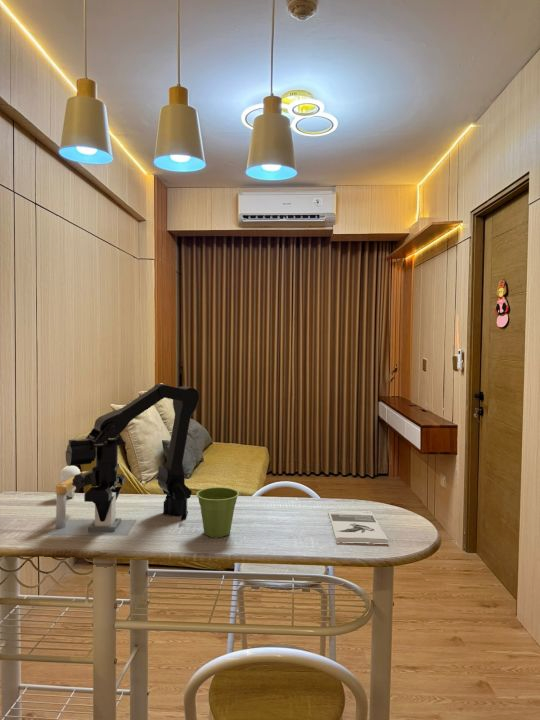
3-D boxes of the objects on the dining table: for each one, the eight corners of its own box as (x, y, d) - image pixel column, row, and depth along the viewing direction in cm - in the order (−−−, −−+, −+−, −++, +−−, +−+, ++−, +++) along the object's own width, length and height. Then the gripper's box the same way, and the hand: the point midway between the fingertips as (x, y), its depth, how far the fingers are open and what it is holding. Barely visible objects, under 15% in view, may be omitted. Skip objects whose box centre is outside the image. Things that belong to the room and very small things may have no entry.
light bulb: (75, 501, 156) (76, 468, 156) (55, 500, 156) (56, 467, 156) (83, 495, 162) (84, 463, 162) (64, 494, 162) (65, 463, 162)
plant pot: (191, 528, 134) (192, 488, 134) (231, 524, 138) (232, 485, 138) (200, 544, 123) (201, 501, 123) (243, 538, 127) (244, 497, 127)
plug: (115, 524, 133) (116, 492, 133) (110, 529, 128) (111, 497, 128) (99, 524, 132) (100, 492, 132) (94, 529, 128) (95, 496, 128)
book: (327, 516, 149) (327, 510, 149) (371, 517, 148) (371, 511, 148) (335, 545, 126) (336, 537, 126) (387, 546, 125) (387, 539, 125)
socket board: (137, 523, 137) (137, 487, 137) (127, 538, 125) (128, 500, 125) (63, 522, 135) (63, 487, 135) (46, 538, 123) (47, 499, 123)
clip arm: (64, 494, 128) (64, 486, 128) (53, 493, 128) (53, 486, 128) (91, 478, 145) (92, 471, 145) (82, 477, 146) (82, 471, 146)
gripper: (87, 454, 139) (86, 507, 139) (64, 469, 120) (62, 530, 120) (126, 454, 140) (124, 507, 140) (108, 469, 121) (107, 530, 121)
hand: (105, 517), depth 130 cm, fingers open, 5 cm apart
